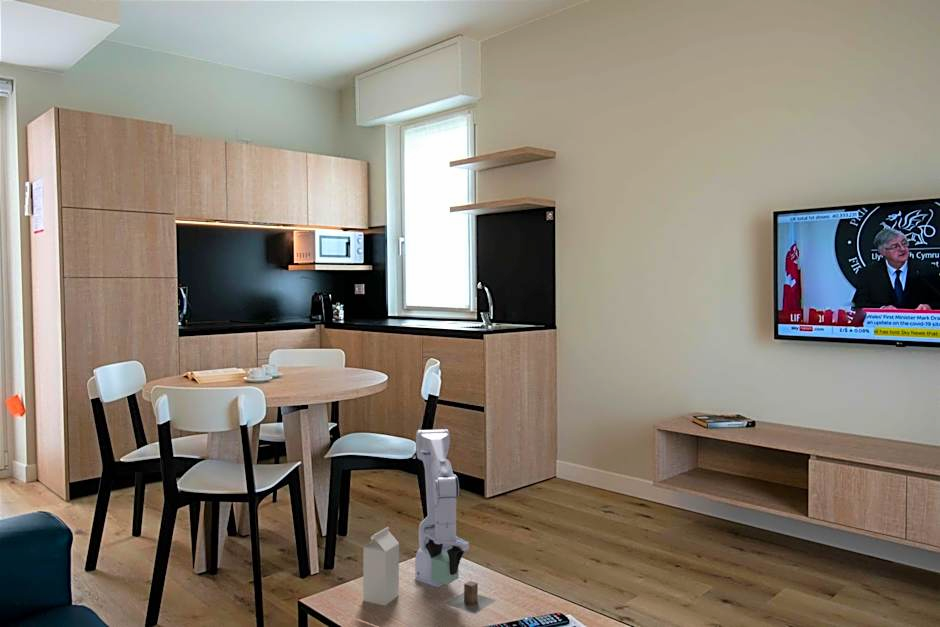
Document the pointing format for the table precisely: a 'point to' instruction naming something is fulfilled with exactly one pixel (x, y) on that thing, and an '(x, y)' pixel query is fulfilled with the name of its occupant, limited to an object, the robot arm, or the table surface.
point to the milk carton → (381, 568)
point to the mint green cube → (442, 569)
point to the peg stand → (470, 599)
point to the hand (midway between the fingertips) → (445, 571)
